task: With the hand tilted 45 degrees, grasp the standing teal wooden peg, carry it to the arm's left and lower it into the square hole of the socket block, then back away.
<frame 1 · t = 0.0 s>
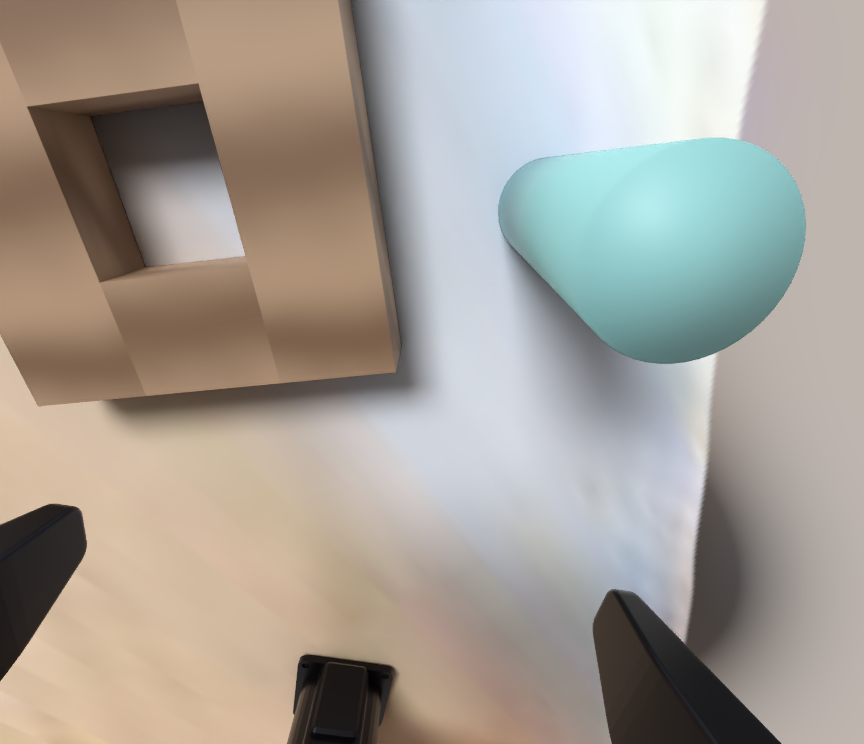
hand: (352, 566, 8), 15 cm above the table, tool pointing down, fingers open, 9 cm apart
socket: (187, 188, 19), on the table
peg: (545, 209, 19), on the table
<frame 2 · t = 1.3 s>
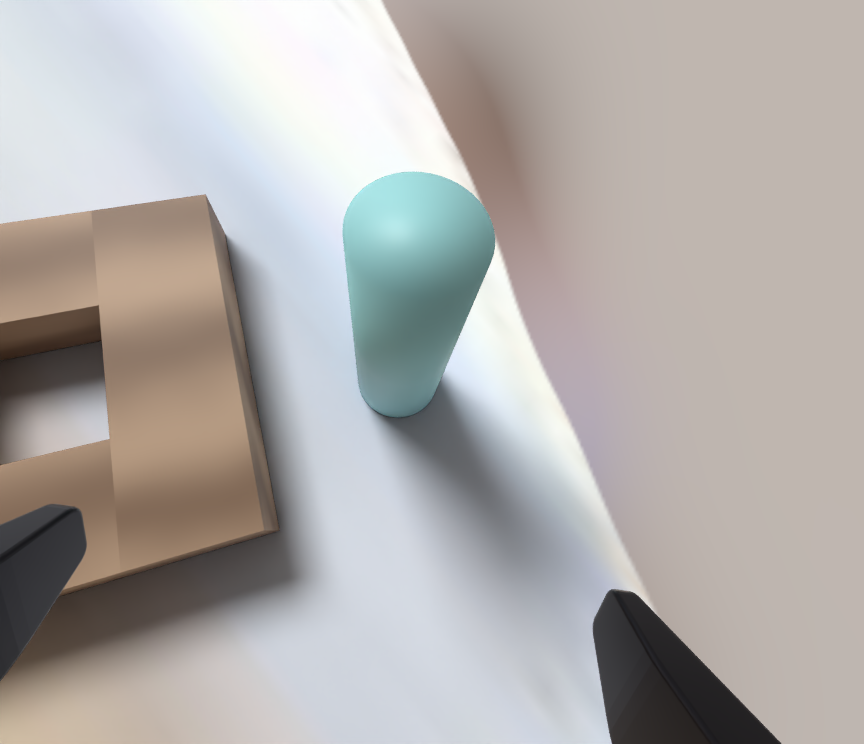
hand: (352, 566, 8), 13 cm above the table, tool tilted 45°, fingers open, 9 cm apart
socket: (68, 406, 21), on the table
peg: (397, 379, 23), on the table
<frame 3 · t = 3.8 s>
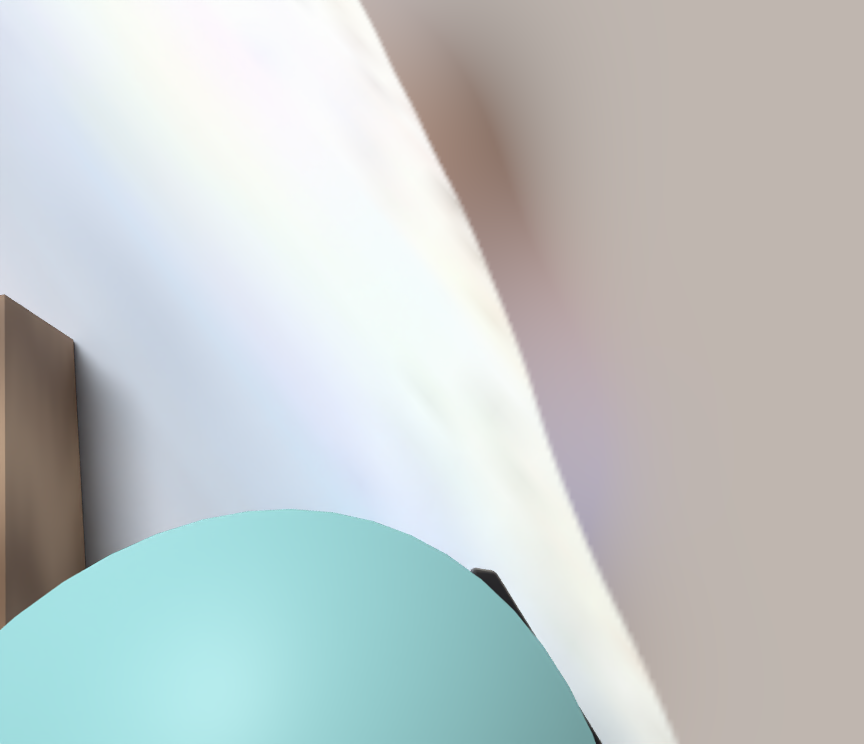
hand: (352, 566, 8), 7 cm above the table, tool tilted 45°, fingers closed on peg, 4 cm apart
peg: (351, 604, 13), on the table, touching gripper
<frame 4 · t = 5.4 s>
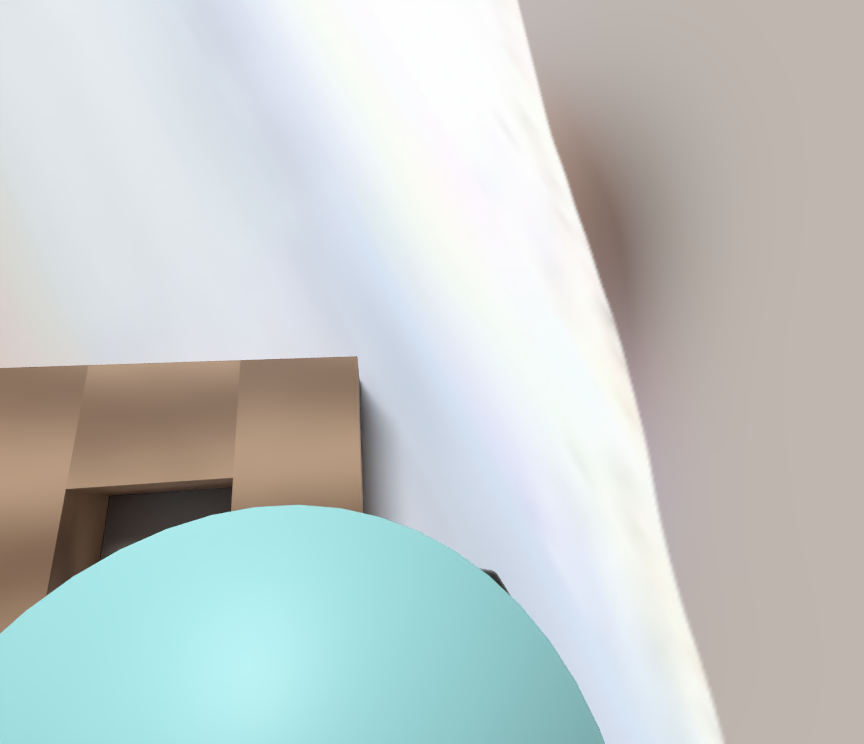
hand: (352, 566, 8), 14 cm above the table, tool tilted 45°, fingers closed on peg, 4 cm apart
socket: (175, 562, 19), on the table
peg: (353, 603, 13), point 7 cm above the table, touching gripper
when the fingers open (8 cm above the table, at t = 7.2 s): peg drops 1 cm, resting in socket.
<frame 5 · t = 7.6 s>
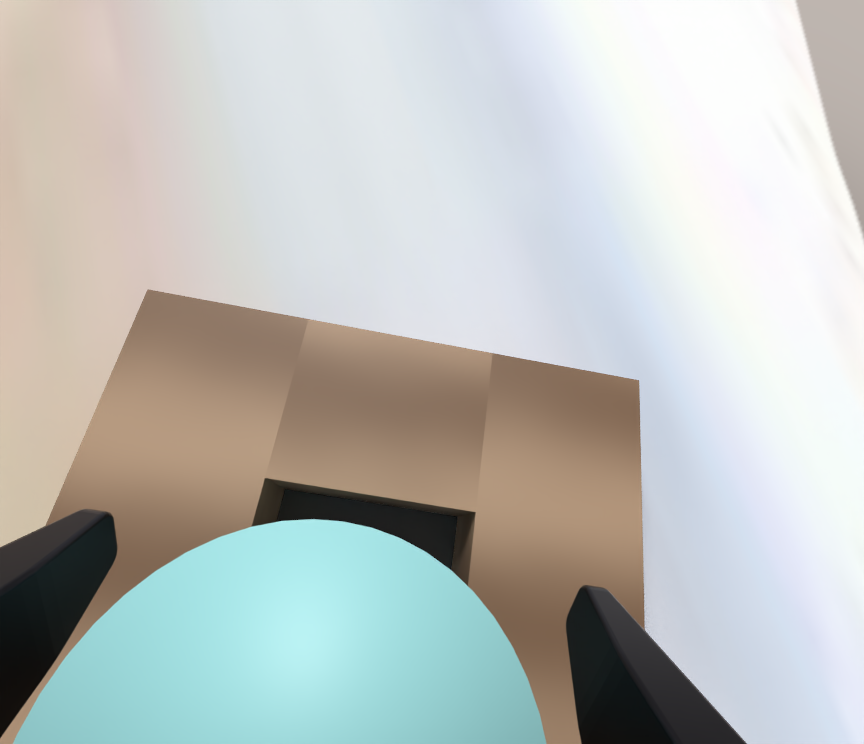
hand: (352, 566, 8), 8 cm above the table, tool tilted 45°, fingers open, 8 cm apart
socket: (354, 599, 14), on the table
peg: (354, 599, 14), resting in socket
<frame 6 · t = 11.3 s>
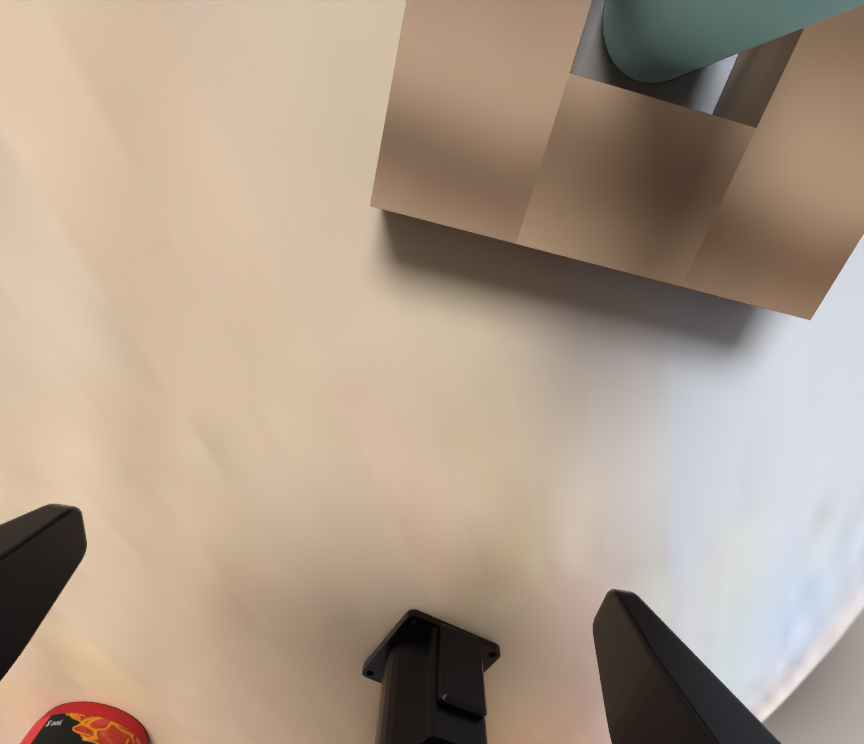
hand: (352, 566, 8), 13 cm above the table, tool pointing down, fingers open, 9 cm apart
canned food: (98, 728, 33), on the table
socket: (663, 12, 15), on the table
peg: (663, 12, 15), resting in socket
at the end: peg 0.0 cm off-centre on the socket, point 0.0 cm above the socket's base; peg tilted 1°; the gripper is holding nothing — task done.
